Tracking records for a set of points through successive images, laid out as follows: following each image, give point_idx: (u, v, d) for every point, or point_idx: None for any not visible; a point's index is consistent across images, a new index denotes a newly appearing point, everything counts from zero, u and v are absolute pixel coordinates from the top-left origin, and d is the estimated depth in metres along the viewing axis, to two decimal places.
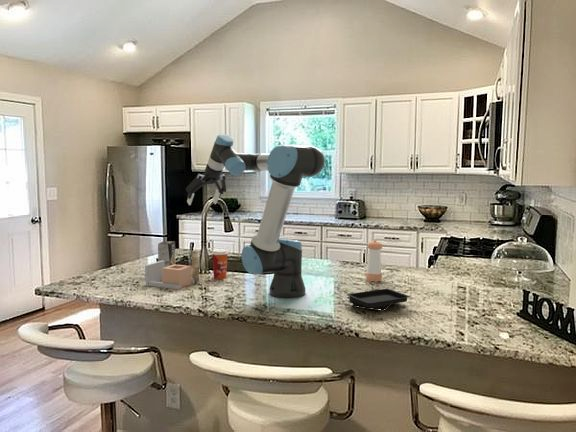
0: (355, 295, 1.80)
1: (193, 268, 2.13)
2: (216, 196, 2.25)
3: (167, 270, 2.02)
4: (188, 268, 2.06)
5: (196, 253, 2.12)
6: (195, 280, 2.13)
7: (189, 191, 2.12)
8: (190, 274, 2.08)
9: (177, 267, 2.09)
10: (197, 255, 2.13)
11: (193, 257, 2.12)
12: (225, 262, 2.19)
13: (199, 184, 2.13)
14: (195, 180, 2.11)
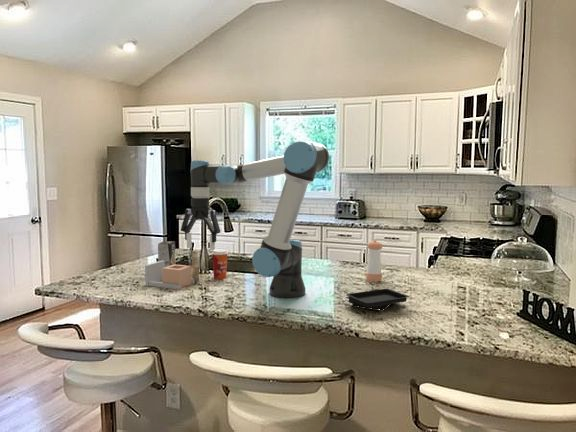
0: (354, 295, 1.81)
1: (193, 268, 2.13)
2: None
3: (167, 270, 2.02)
4: (188, 268, 2.06)
5: (196, 253, 2.12)
6: (195, 280, 2.13)
7: (181, 229, 2.02)
8: (190, 274, 2.08)
9: (177, 267, 2.09)
10: (197, 255, 2.13)
11: (193, 257, 2.12)
12: (225, 262, 2.19)
13: None
14: None
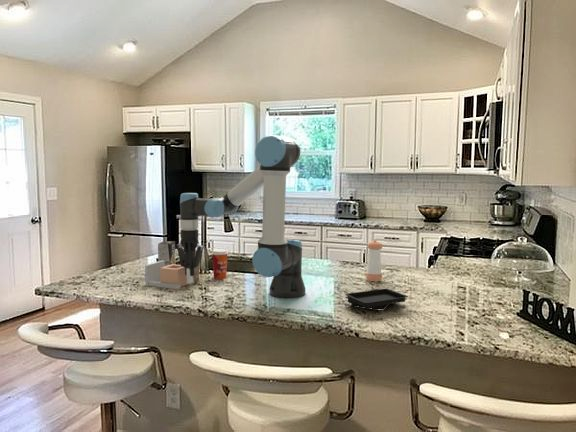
0: (353, 295, 1.81)
1: None
2: None
3: (165, 270, 2.03)
4: None
5: None
6: (195, 280, 2.13)
7: (181, 264, 2.03)
8: None
9: (175, 267, 2.09)
10: None
11: None
12: (225, 262, 2.19)
13: None
14: None
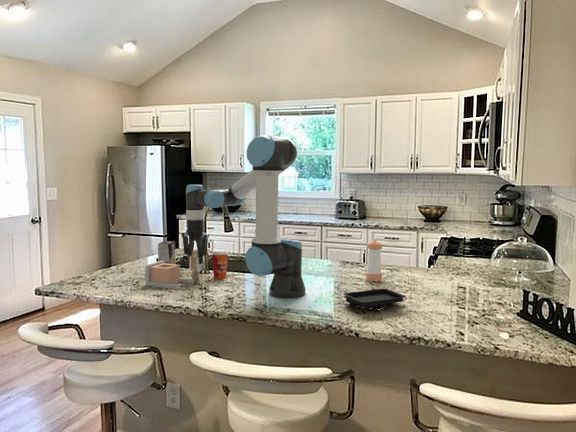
0: (351, 294, 1.81)
1: (193, 268, 2.13)
2: None
3: (155, 269, 2.05)
4: (176, 267, 2.08)
5: (196, 253, 2.12)
6: (195, 280, 2.13)
7: (185, 252, 2.14)
8: (178, 273, 2.10)
9: (166, 266, 2.11)
10: (197, 255, 2.13)
11: (193, 257, 2.12)
12: (225, 262, 2.19)
13: None
14: None
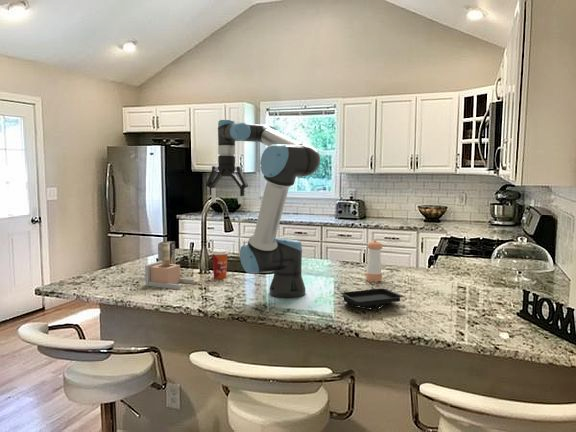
0: (349, 294, 1.82)
1: (163, 261, 2.06)
2: None
3: (155, 269, 2.05)
4: (176, 267, 2.08)
5: (166, 246, 2.06)
6: None
7: (207, 184, 2.14)
8: (178, 273, 2.10)
9: None
10: (167, 248, 2.06)
11: (163, 250, 2.06)
12: (225, 262, 2.19)
13: None
14: None
